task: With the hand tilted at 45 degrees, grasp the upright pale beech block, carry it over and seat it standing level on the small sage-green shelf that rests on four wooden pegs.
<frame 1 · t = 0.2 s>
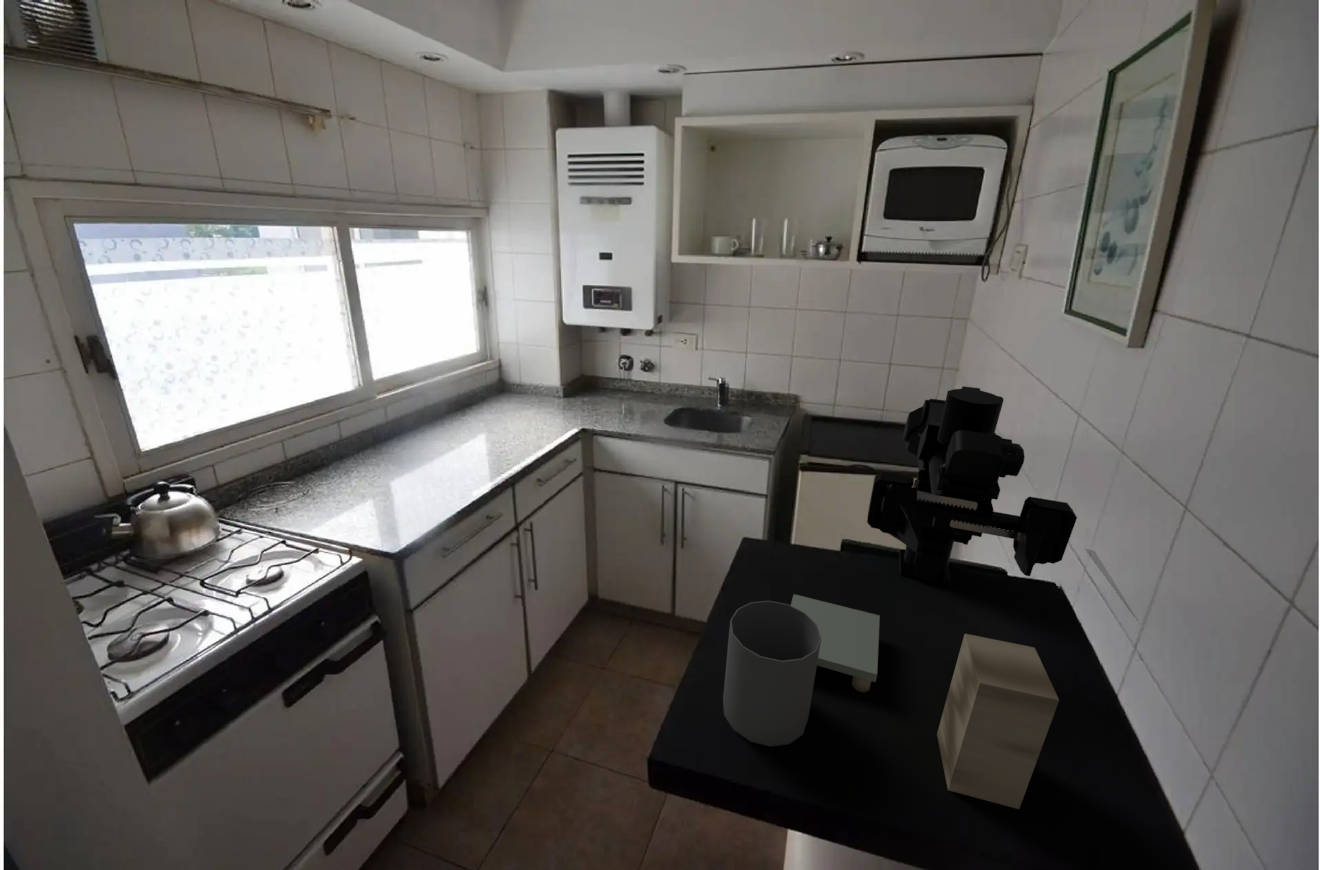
hand: (972, 560, 52), 17 cm above the countertop, tool horizontal, fingers open, 9 cm apart
peg shelf: (827, 651, 64), on the countertop
cup: (764, 711, 56), on the countertop
beech block: (975, 768, 51), on the countertop
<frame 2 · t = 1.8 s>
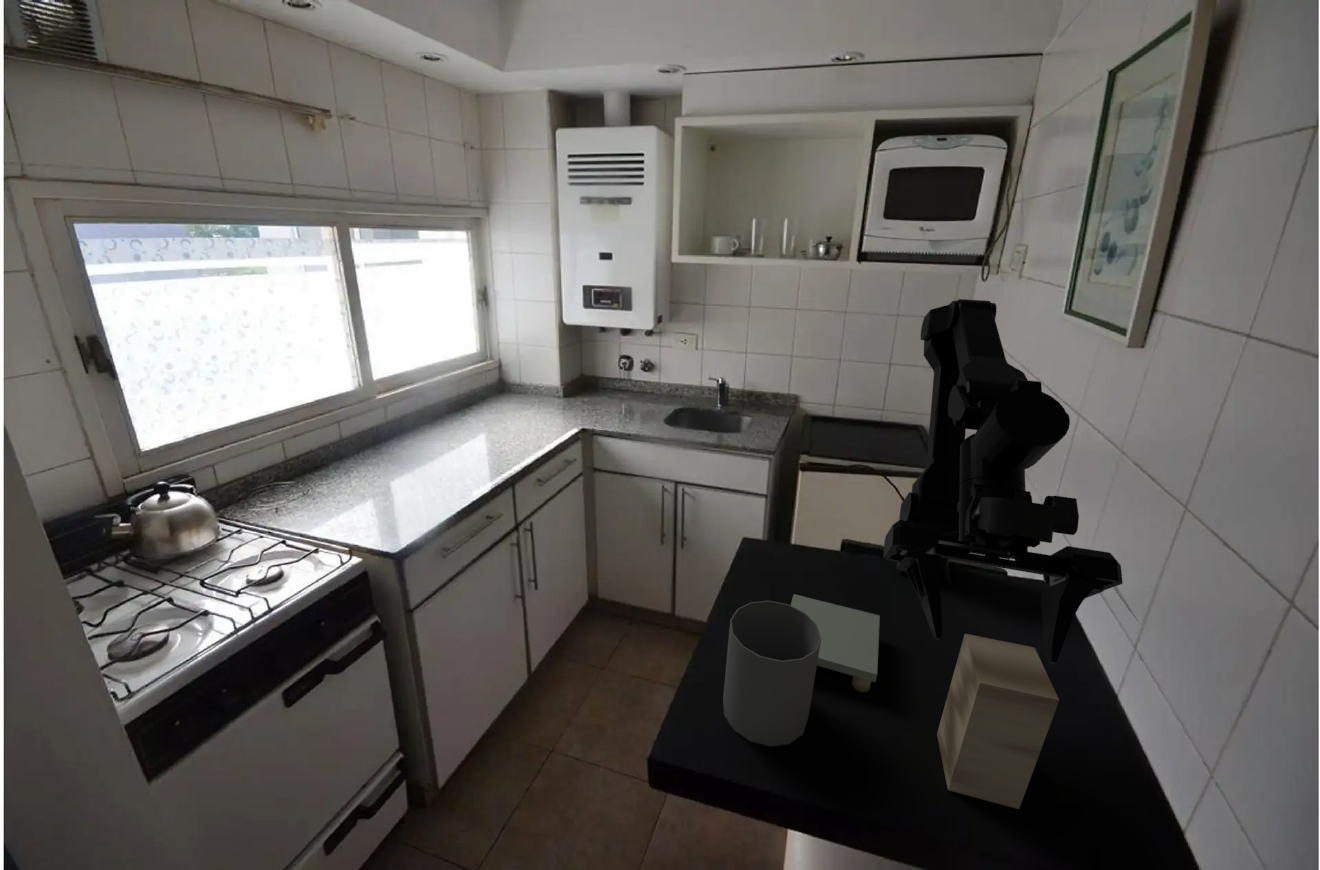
hand: (993, 650, 50), 10 cm above the countertop, tool tilted 45°, fingers open, 9 cm apart
nothing on the countertop moved.
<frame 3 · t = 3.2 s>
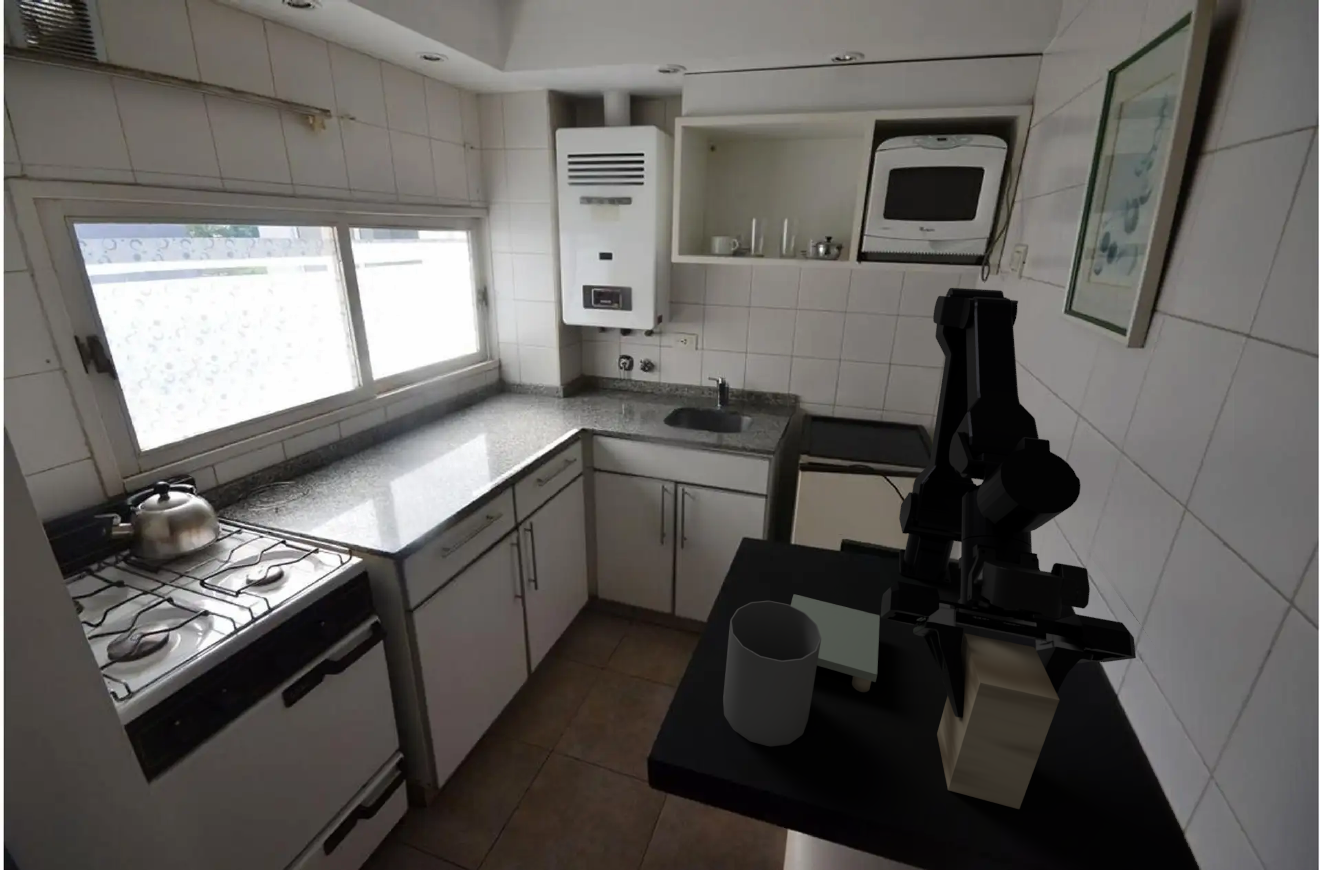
hand: (997, 726, 47), 7 cm above the countertop, tool tilted 45°, fingers closed on beech block, 5 cm apart
beech block: (975, 768, 50), on the countertop, touching gripper
everything else where it was.
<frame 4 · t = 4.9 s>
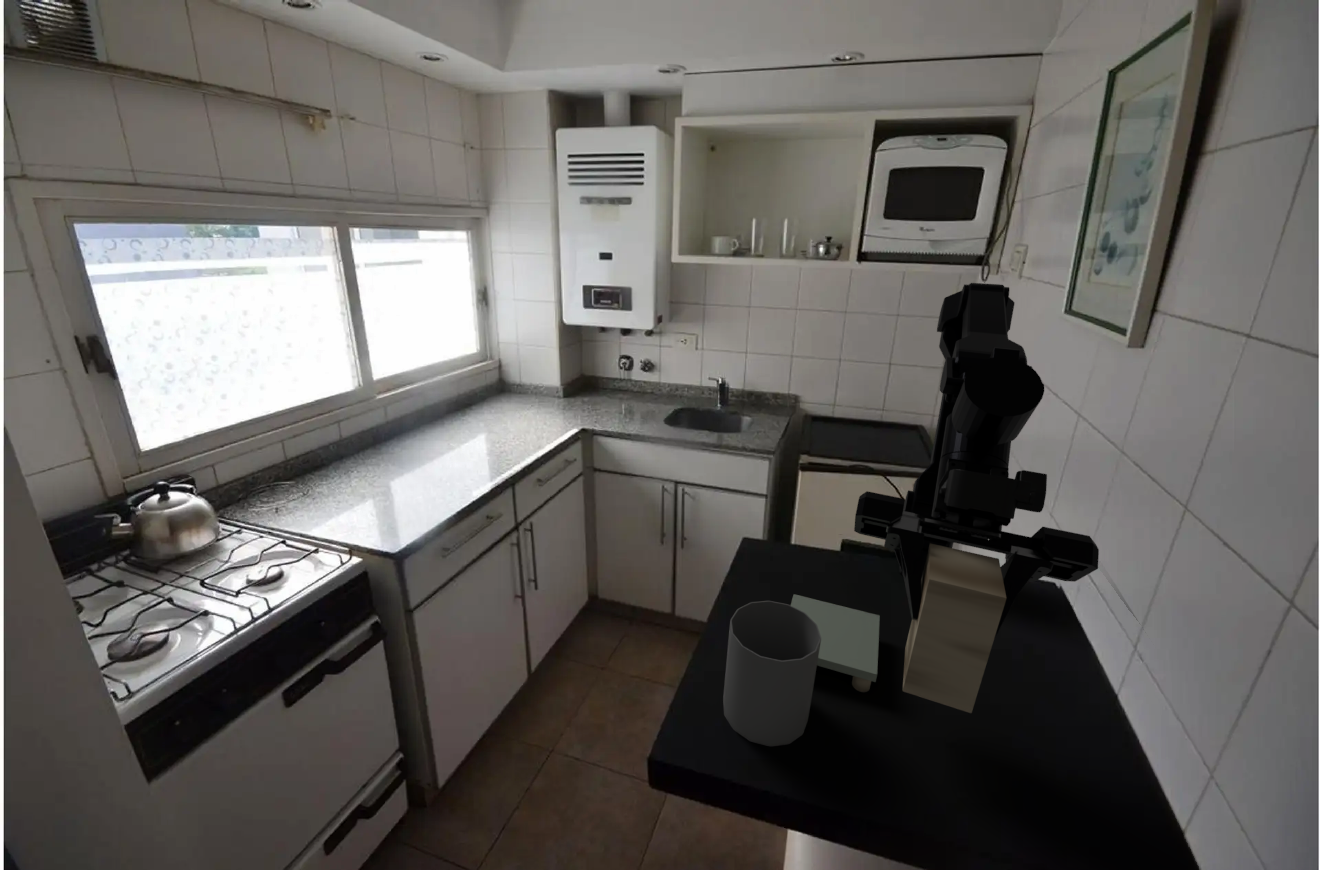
hand: (951, 629, 48), 13 cm above the countertop, tool tilted 45°, fingers closed on beech block, 5 cm apart
beech block: (936, 678, 51), point 7 cm above the countertop, touching gripper
everything else where it was.
when the fingers open (10 cm above the countertop, at t = 6.6 s): beech block stays where it is, resting on peg shelf.
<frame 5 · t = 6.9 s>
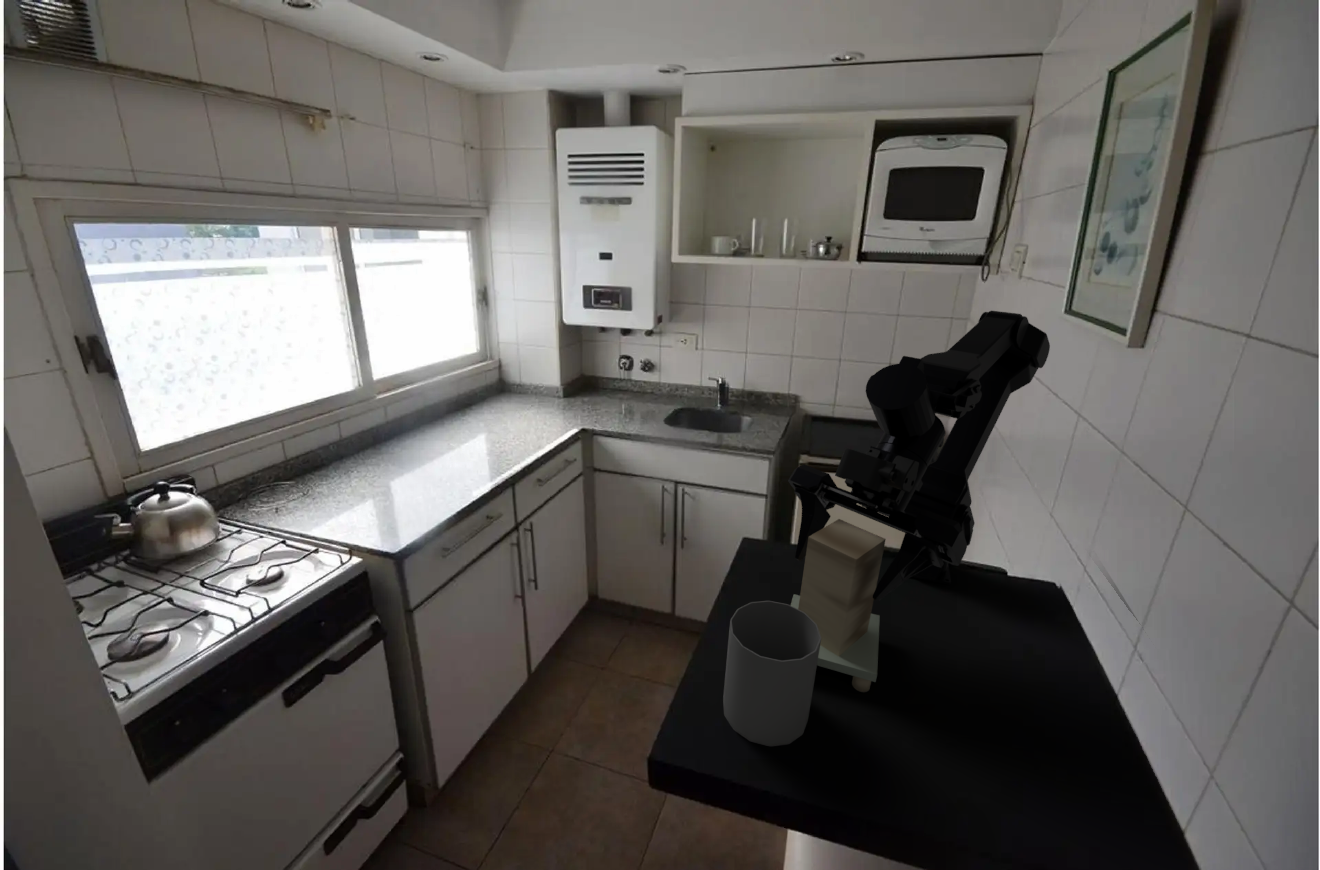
hand: (834, 578, 59), 11 cm above the countertop, tool tilted 45°, fingers open, 9 cm apart
beech block: (831, 630, 63), point 3 cm above the countertop, touching peg shelf
everything else where it was.
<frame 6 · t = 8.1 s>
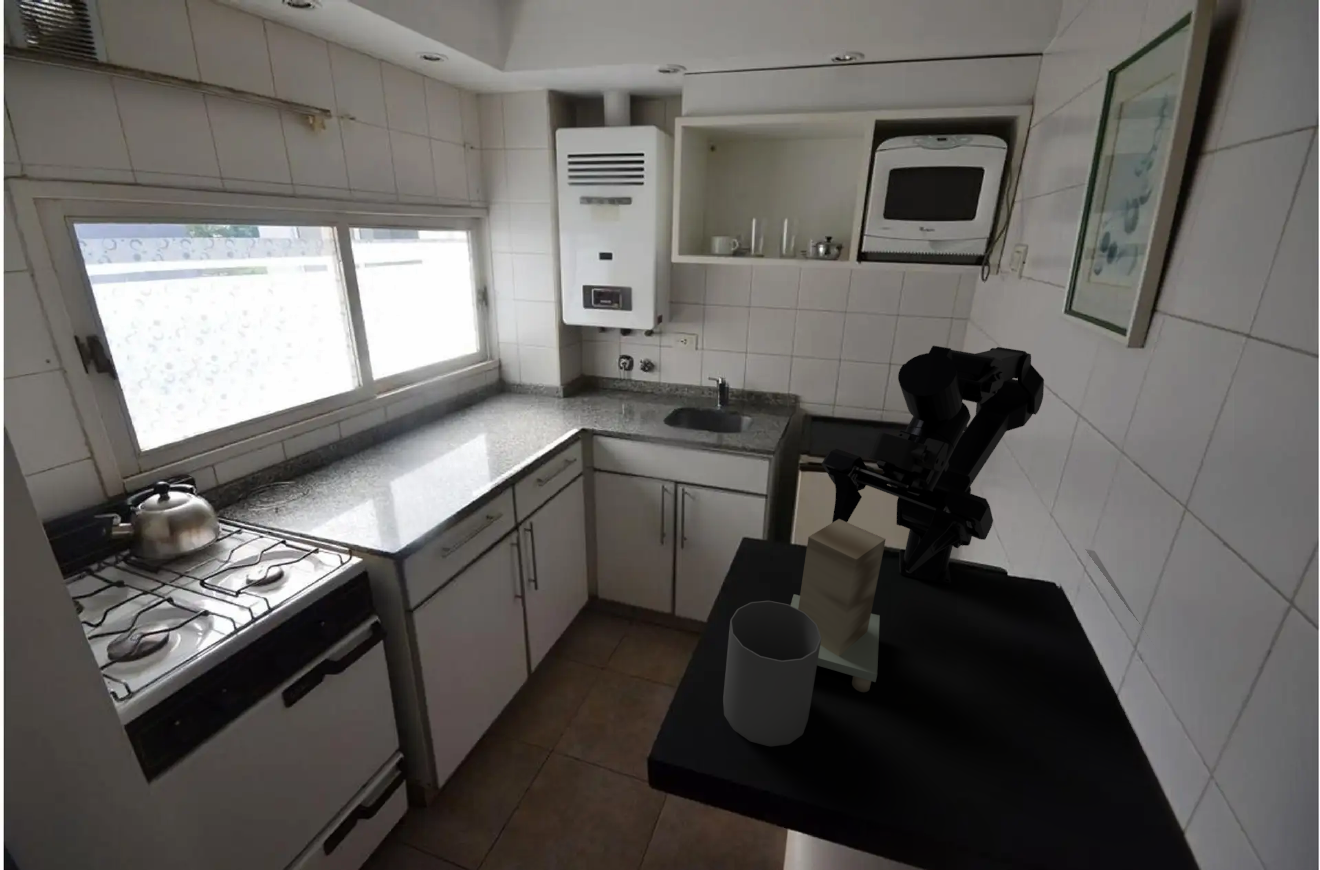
hand: (868, 553, 64), 11 cm above the countertop, tool tilted 45°, fingers open, 9 cm apart
nothing on the countertop moved.
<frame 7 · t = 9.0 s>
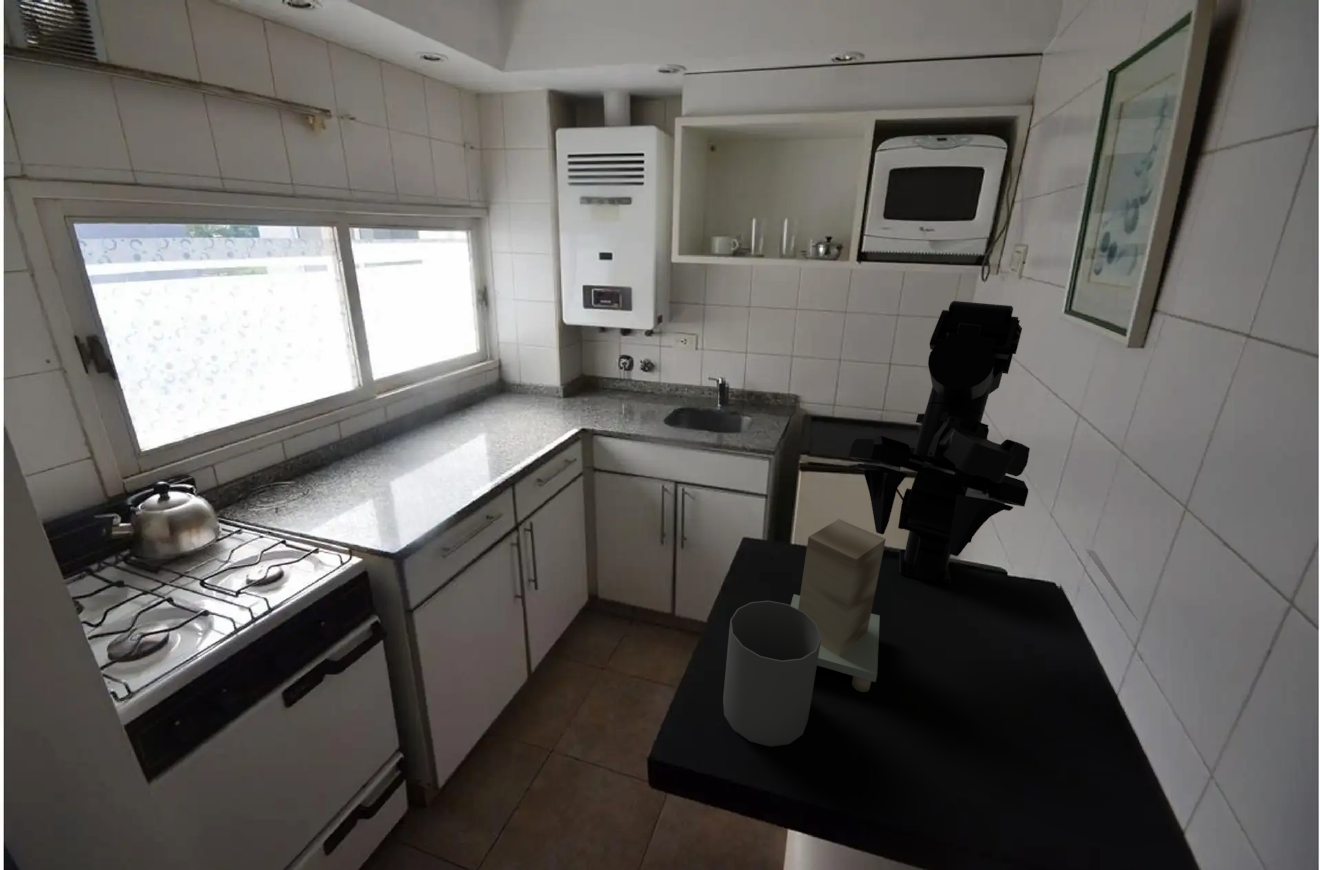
hand: (916, 544, 62), 13 cm above the countertop, tool tilted 25°, fingers open, 9 cm apart
nothing on the countertop moved.
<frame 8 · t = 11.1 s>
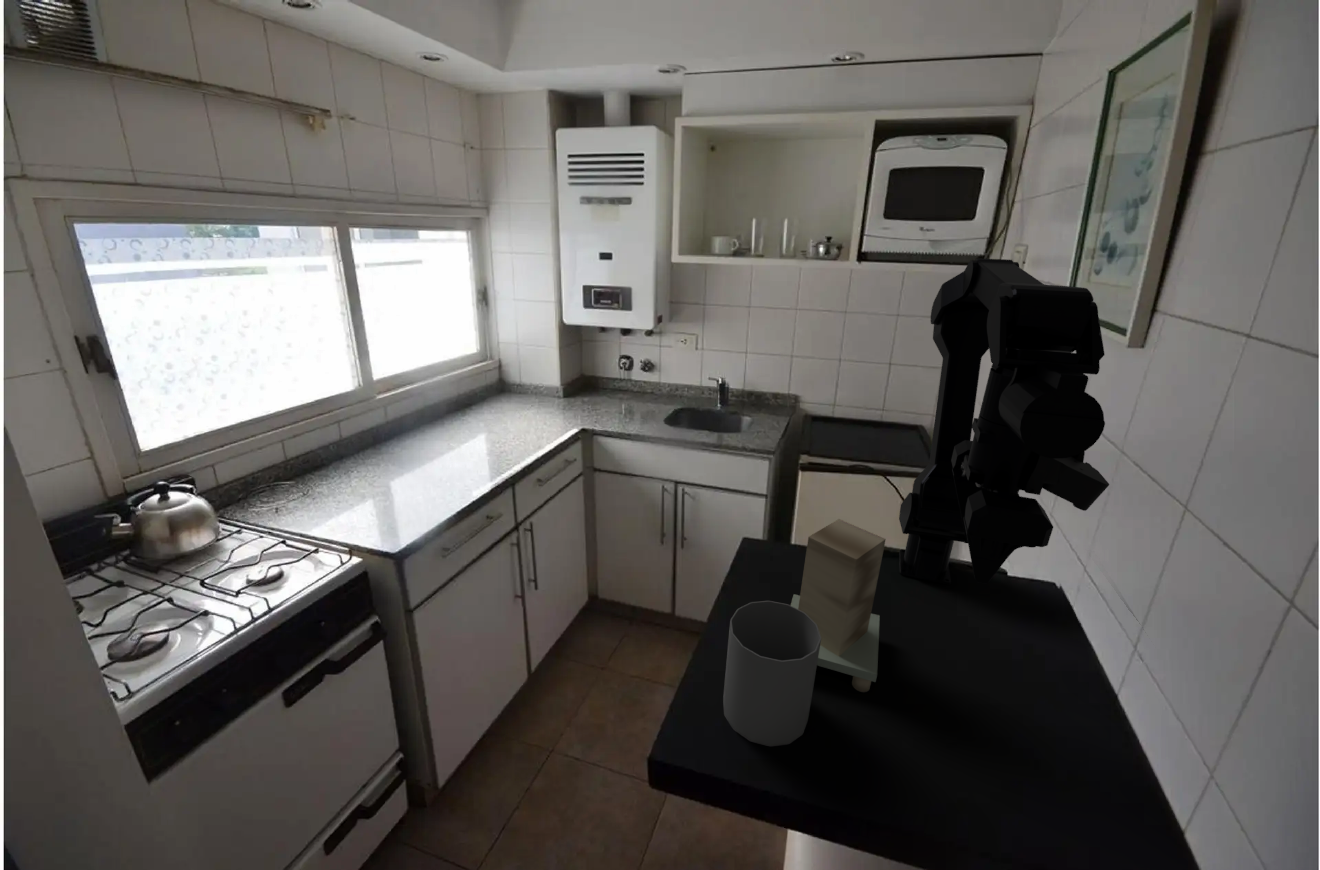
hand: (975, 558, 59), 13 cm above the countertop, tool pointing down, fingers open, 9 cm apart
nothing on the countertop moved.
at the end: beech block inside the target area on the peg shelf (0.0 cm from its centre), point 3.0 cm above the peg shelf's base; beech block tilted 0°; the gripper is holding nothing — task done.
